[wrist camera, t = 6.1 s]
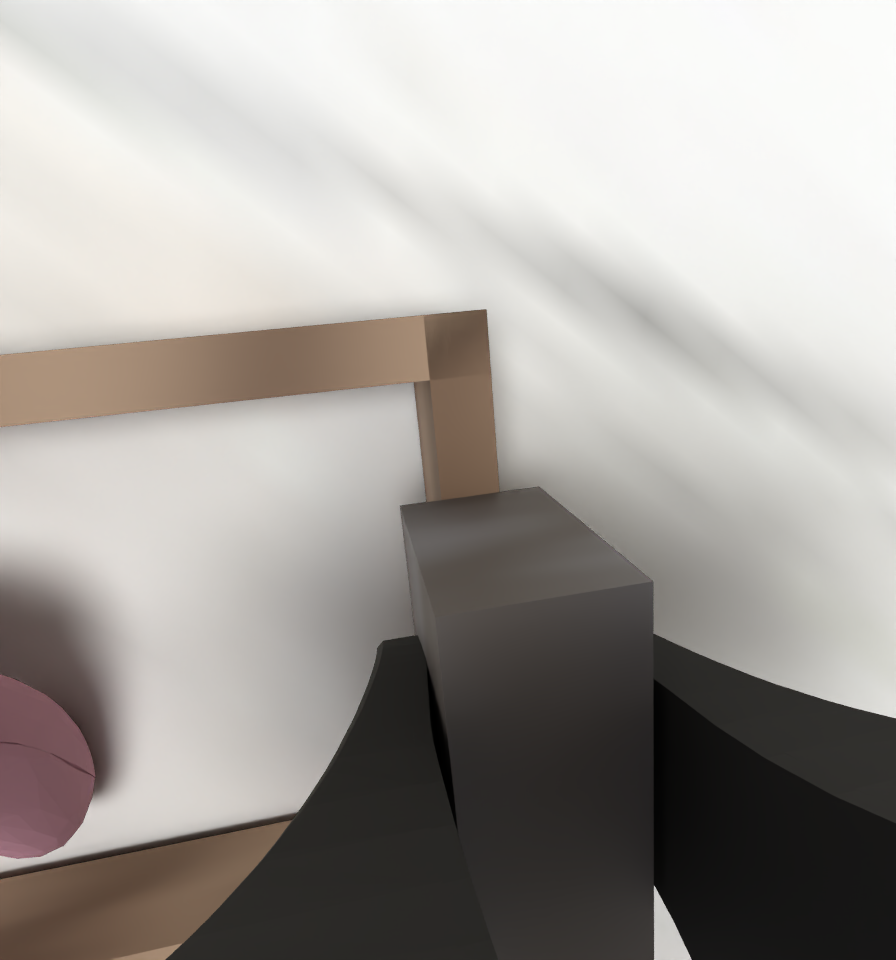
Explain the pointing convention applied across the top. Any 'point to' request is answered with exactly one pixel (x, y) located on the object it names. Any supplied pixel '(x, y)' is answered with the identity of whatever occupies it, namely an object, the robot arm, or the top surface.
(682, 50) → the top surface
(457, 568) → the sliding frame
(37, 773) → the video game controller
